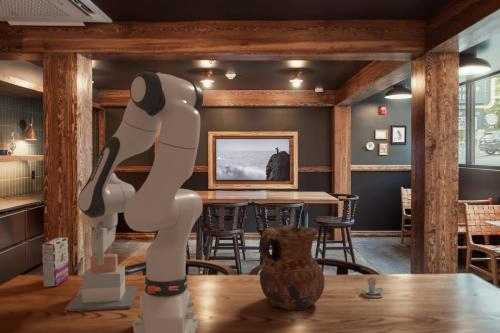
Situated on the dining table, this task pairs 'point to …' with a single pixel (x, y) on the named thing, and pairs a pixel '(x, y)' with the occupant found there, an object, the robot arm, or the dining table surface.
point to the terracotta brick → (108, 265)
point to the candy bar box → (55, 261)
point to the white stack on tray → (103, 291)
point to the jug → (290, 268)
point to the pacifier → (372, 289)
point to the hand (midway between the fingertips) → (104, 260)
